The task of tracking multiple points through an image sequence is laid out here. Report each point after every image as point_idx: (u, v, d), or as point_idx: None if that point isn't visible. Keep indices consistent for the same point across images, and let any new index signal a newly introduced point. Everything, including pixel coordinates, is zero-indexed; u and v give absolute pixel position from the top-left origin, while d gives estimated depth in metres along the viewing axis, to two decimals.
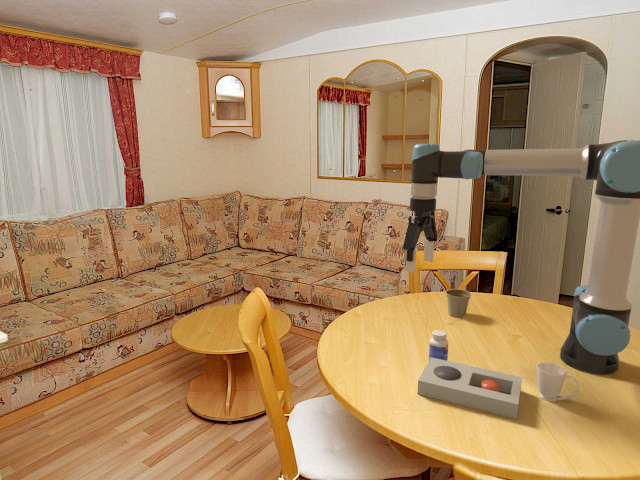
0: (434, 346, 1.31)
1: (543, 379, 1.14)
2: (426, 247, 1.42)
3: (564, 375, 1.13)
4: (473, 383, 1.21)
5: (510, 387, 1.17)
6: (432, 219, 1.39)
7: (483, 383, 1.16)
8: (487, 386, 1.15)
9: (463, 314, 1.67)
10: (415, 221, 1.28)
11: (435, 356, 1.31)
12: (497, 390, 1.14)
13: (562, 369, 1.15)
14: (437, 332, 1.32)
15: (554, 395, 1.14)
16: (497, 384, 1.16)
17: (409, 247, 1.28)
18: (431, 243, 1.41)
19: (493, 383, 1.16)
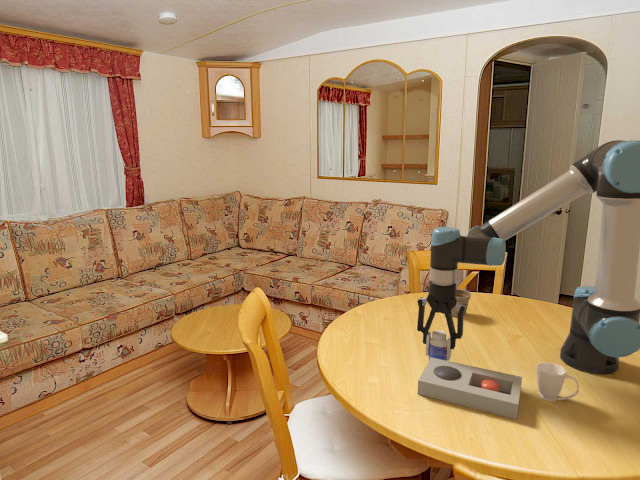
0: (434, 346, 1.31)
1: (543, 379, 1.14)
2: None
3: (564, 375, 1.13)
4: (473, 383, 1.21)
5: (510, 387, 1.17)
6: (458, 313, 1.27)
7: (483, 383, 1.16)
8: (487, 386, 1.15)
9: None
10: None
11: (435, 356, 1.31)
12: (497, 390, 1.14)
13: (562, 369, 1.15)
14: (437, 332, 1.32)
15: (554, 395, 1.14)
16: (497, 384, 1.16)
17: None
18: None
19: (493, 383, 1.16)
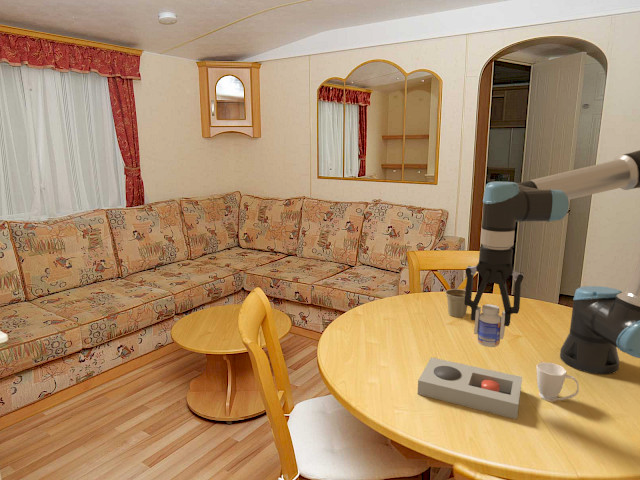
0: (485, 323, 1.12)
1: (543, 379, 1.14)
2: None
3: (564, 375, 1.13)
4: (473, 383, 1.21)
5: (510, 387, 1.17)
6: (515, 283, 1.08)
7: (483, 383, 1.16)
8: (487, 386, 1.15)
9: (463, 314, 1.67)
10: None
11: (486, 334, 1.12)
12: (497, 390, 1.14)
13: (562, 369, 1.15)
14: (488, 306, 1.13)
15: (554, 395, 1.14)
16: (497, 384, 1.16)
17: None
18: None
19: (493, 383, 1.16)
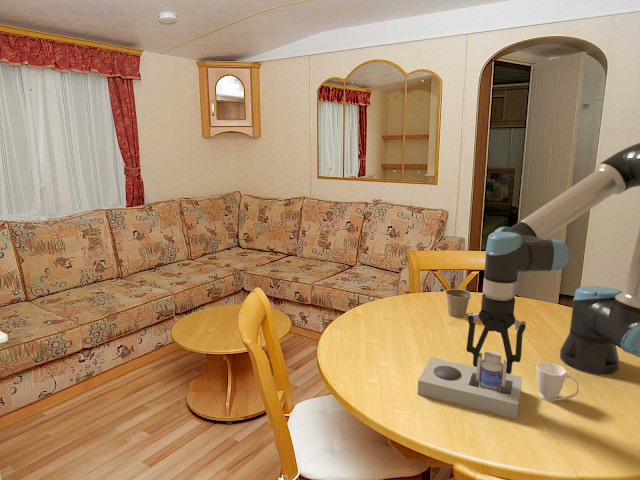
0: (487, 370, 1.12)
1: (543, 379, 1.14)
2: None
3: (564, 375, 1.13)
4: (473, 383, 1.21)
5: (510, 387, 1.17)
6: (517, 332, 1.09)
7: None
8: None
9: (463, 314, 1.67)
10: None
11: (488, 381, 1.13)
12: None
13: (562, 369, 1.15)
14: (490, 354, 1.14)
15: (554, 395, 1.14)
16: None
17: (467, 348, 1.16)
18: None
19: None
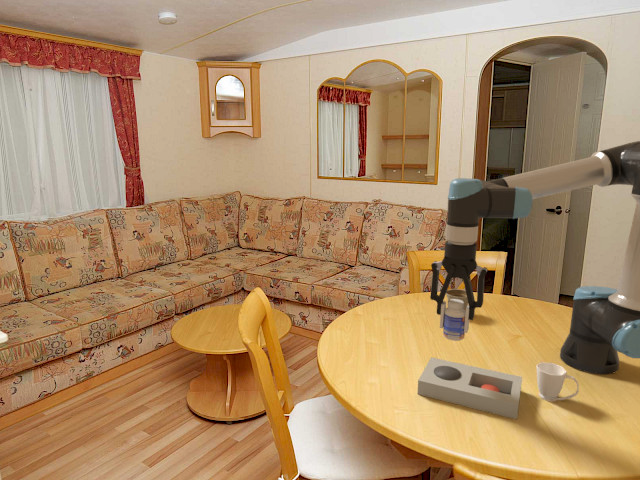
0: (450, 317, 1.14)
1: (543, 379, 1.14)
2: None
3: (564, 375, 1.13)
4: (473, 383, 1.21)
5: (510, 387, 1.17)
6: (478, 278, 1.11)
7: (483, 388, 1.16)
8: None
9: None
10: None
11: (451, 328, 1.14)
12: None
13: (562, 369, 1.15)
14: (453, 301, 1.15)
15: (554, 395, 1.14)
16: (497, 389, 1.16)
17: (431, 296, 1.17)
18: (466, 309, 1.14)
19: (493, 388, 1.16)
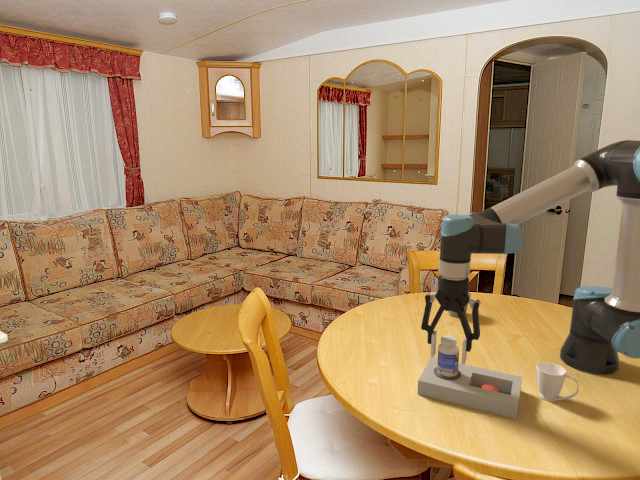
0: (443, 354, 1.17)
1: (543, 379, 1.14)
2: None
3: (564, 375, 1.13)
4: (473, 383, 1.21)
5: (510, 387, 1.17)
6: (472, 311, 1.13)
7: (483, 388, 1.16)
8: None
9: None
10: None
11: (444, 365, 1.17)
12: None
13: (562, 369, 1.15)
14: (446, 338, 1.18)
15: (554, 395, 1.14)
16: (497, 389, 1.16)
17: None
18: (463, 341, 1.16)
19: (493, 388, 1.16)
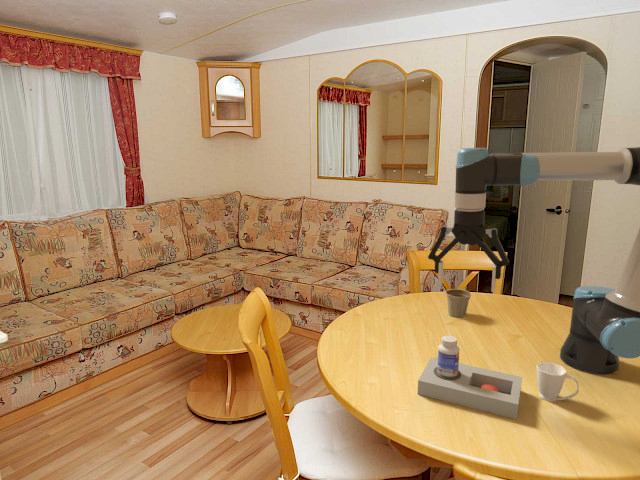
0: (444, 354, 1.17)
1: (543, 379, 1.14)
2: None
3: (564, 375, 1.13)
4: (473, 383, 1.21)
5: (510, 387, 1.17)
6: (492, 239, 1.14)
7: (483, 388, 1.16)
8: None
9: (463, 314, 1.67)
10: (441, 231, 1.19)
11: (445, 365, 1.17)
12: None
13: (562, 369, 1.15)
14: (447, 338, 1.18)
15: (554, 395, 1.14)
16: (497, 389, 1.16)
17: None
18: None
19: (493, 388, 1.16)
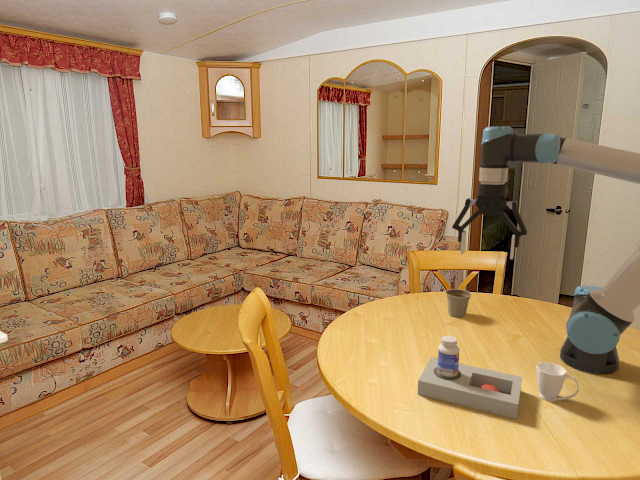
0: (444, 354, 1.17)
1: (543, 379, 1.14)
2: None
3: (564, 375, 1.13)
4: (473, 383, 1.21)
5: (510, 387, 1.17)
6: None
7: (483, 388, 1.16)
8: None
9: (463, 314, 1.67)
10: (465, 203, 1.31)
11: (445, 365, 1.17)
12: None
13: (562, 369, 1.15)
14: (447, 338, 1.18)
15: (554, 395, 1.14)
16: (497, 389, 1.16)
17: None
18: None
19: (493, 388, 1.16)
